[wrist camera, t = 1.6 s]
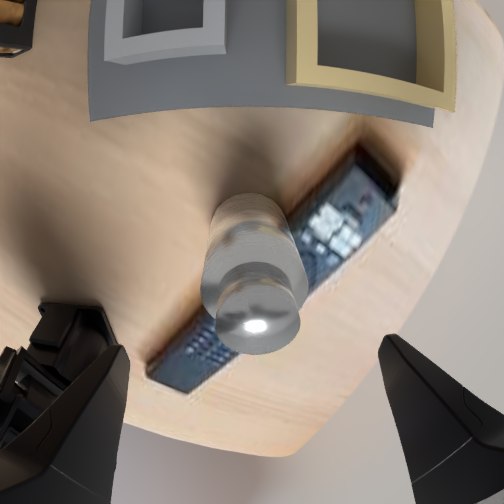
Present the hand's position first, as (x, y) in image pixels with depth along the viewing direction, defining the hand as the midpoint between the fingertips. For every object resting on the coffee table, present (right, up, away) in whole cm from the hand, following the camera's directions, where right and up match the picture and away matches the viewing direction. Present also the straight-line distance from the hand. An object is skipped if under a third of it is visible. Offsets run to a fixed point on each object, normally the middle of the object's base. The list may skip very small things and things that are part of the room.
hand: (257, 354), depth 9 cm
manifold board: (+1, +15, +2) cm, 15 cm away
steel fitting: (0, +5, +8) cm, 9 cm away
